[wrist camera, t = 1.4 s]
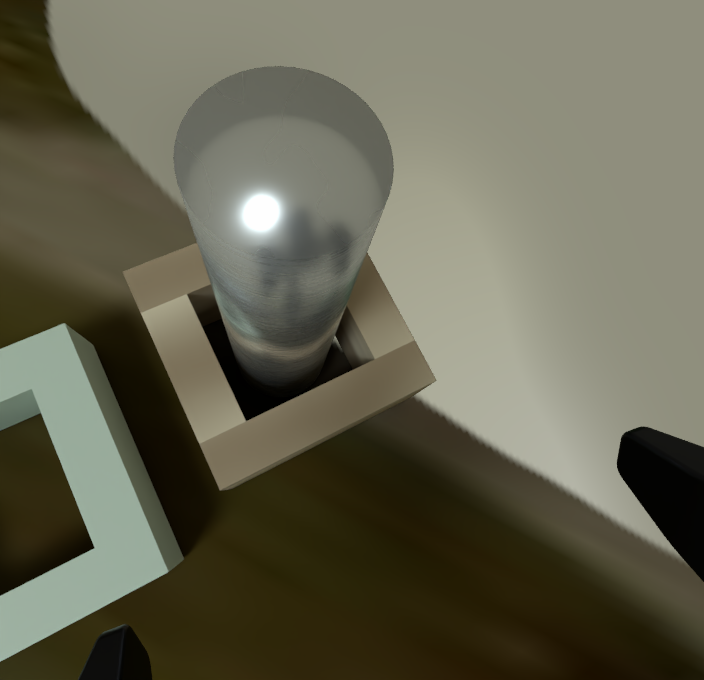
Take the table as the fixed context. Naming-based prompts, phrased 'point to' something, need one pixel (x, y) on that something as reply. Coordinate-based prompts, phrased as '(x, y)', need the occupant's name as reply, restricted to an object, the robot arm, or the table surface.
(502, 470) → the table surface
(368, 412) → the brown square frame
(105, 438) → the socket block
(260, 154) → the axle
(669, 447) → the robot arm
